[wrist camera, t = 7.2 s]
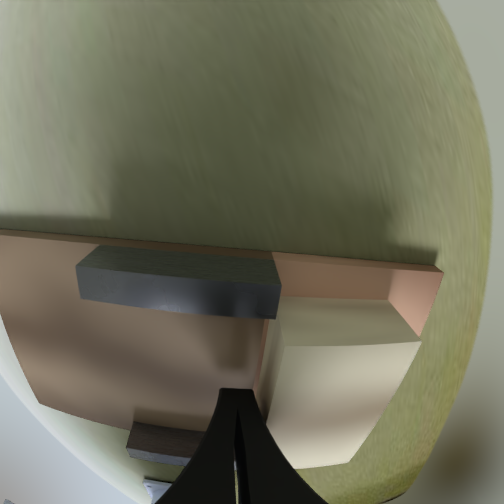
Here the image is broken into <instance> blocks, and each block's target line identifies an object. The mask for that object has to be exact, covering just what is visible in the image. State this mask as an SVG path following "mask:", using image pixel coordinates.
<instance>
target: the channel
mask: <svg viewBox="0 0 504 504" xmlns="http://www.w3.org/2000/svg"><path fill="white" fill-rule="evenodd" d="M75 268H76V275H77V282H78V288H79V294H80V299H86V300H92V301H98V302H104V303H111V304H118V305H125V306H132V307H140V308H147V309H156V310H164V311H173V312H182V313H192V314H203V315H214V316H227V317H240V318H256V319H274V320H276V316H277V311H278V305H279V300H280V294H281V288H282V284H281V281H280V278H279V274H278V271H277V268H276V265H275V262H274V260H273V259H261V258H248V257H237V256H225V255H213V254H201V253H190V252H178V251H167V250H155V249H144V248H133V247H122V246H111V245H99V246H97V247H96V248H95V249H94V250H93V251H92V252H90V253H89V254H88V255H87V256H86V257H85V258H83V259H82V260H81V261H80V262H79V263H78V264H77V265H76V266H75ZM205 432H206V431H196V430H187V429H178V428H171V427H164V426H158V425H152V424H146V423H140V422H135V421H133V424H132V428H131V431H130V435H129V438H128V442H127V446H126V449H127V451H128V453H129V455H130V457H133V458H138V459H142V460H148V461H153V462H159V463H165V464H172V465H179V466H186V465H187V464H188V462H189V461H190V459H191V458H192V456H193V454H194V453H195V451H196V449H197V447H198V446H199V444H200V442H201V440H202V438H203V436H204V434H205ZM234 470H236V461H235V452H234Z"/></svg>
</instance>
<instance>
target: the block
mask: <svg viewBox="0 0 504 504" xmlns="http://www.w3.org/2000/svg"><path fill="white" fill-rule="evenodd" d="M421 342H422V341H421V339H420V338H419V337H418V335H417V334H416V333H415V332H414V331H413V329H412V328H411V327H410V326H409V324H408V323H407V322H406V321H405V319H404V318H403V317H402V316H401V315H400V313H399V312H398V311H397V310H396V309H395V307H394V306H393V305H392V304H391V303H390V302H389V300H374V299H339V298H314V297H294V296H280V300H279V305H278V311H277V316H276V320H274V319H269V325H268V331H267V337H266V343H265V349H264V355H263V360H262V366H261V372H260V377H259V383H258V388H257V393H256V401H257V404H258V407H259V409H260V412H261V414H262V416H263V419H264V421H265V423H266V425H267V427H268V429H269V431H270V433H271V435H272V437H273V438H274V440H275V442H276V443H277V445H278V447H279V448H280V450H281V451H282V453H283V455H284V456H285V457H286V459H287V460H288V462H289V463H290V464H291V466H292V467H293V468H294V469H301V468H312V467H321V466H328V465H336V464H342V463H348V462H349V461H350V459H351V458H352V457H353V455H354V454H355V453H356V451H357V450H358V449H359V447H360V446H361V445H362V443H363V442H364V440H365V439H366V438H367V436H368V435H369V433H370V432H371V430H372V429H373V427H374V426H375V424H376V423H377V421H378V420H379V418H380V417H381V415H382V414H383V412H384V410H385V409H386V407H387V406H388V404H389V402H390V401H391V399H392V397H393V396H394V394H395V392H396V390H397V389H398V387H399V385H400V383H401V382H402V380H403V378H404V376H405V374H406V372H407V370H408V369H409V367H410V365H411V363H412V361H413V359H414V357H415V355H416V353H417V351H418V349H419V347H420V344H421Z"/></svg>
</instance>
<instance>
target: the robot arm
mask: <svg viewBox="0 0 504 504" xmlns="http://www.w3.org/2000/svg"><path fill="white" fill-rule="evenodd" d="M234 452H235V461H236V470H237V478H238V504H328V503H327V502H326V501H325V500H323V499H322V498H321V497H320V496H319V495H318V494H317V493H316V492H315V491H314V490H313V489H312V488H311V487H310V486H309V485H308V484H307V483H306V482H305V481H304V480H303V479H302V478H301V477H300V475H299V474H298V473H297V472H296V471H295V469H294V468H293V467H292V466H291V464H290V463H289V462H288V460H287V459H286V457H285V456H284V455H283V453H282V451H281V450H280V448H279V447H278V445H277V443H276V442H275V440H274V438H273V437H272V435H271V433H270V431H269V429H268V427H267V425H266V423H265V421H264V419H263V416H262V414H261V412H260V409H259V407H258V404H257V401H256V398H255V394H254V391H253V390H252V389H240V388H223V387H222V388H220V389H219V396H218V400H217V404H216V407H215V410H214V413H213V416H212V418H211V421H210V423H209V425H208V428H207V430H206V432H205V434H204V436H203V438H202V440H201V442H200V444H199V446H198V447H197V449H196V451H195V453H194V454H193V456H192V458H191V459H190V461H189V462H188V464H187V465H186V467H185V468H184V469H183V471H182V472H181V474H180V475H179V476H178V478H177V479H176V480H175V481H174V483H173V484H171V483H164V482H158V481H153V480H147V479H145V480H143V484H144V486H145V488H146V490H147V491H148V493H149V495H150V497H151V499H152V503H151V504H236V492H235V474H234ZM4 504H14V503H12V502H11V501H9V500H7V499H5V501H4Z"/></svg>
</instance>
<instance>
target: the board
mask: <svg viewBox="0 0 504 504" xmlns="http://www.w3.org/2000/svg"><path fill="white" fill-rule="evenodd" d="M99 245H111V246H122V247H133V248H144V249H155V250H167V251H178V252H190V253H201V254H213V255H225V256H237V257H248V258H261V259H273V260H274V262H275V265H276V268H277V271H278V274H279V278H280V281H281V284H282V288H281V294H280V296H294V297H314V298H339V299H374V300H389V302H390V303H391V304H392V305H393V306H394V307H395V309H396V310H397V311H398V312H399V313H400V315H401V316H402V317H403V318H404V319H405V321H406V322H407V323H408V324H409V326H410V327H411V328H412V329H413V331H414V332H415V333H416V334H417V335H418V337H419V336H420V334H421V332H422V329H423V327H424V325H425V322H426V320H427V318H428V315H429V313H430V310H431V308H432V305H433V303H434V300H435V297H436V295H437V292H438V289H439V286H440V283H441V281H442V278H443V275H444V272H442V271H441V270H440V269H438V268H437V267H436V266H431V265H420V264H408V263H397V262H386V261H374V260H363V259H352V258H340V257H329V256H317V255H306V254H294V253H282V252H271V251H259V250H247V249H236V248H224V247H212V246H200V245H188V244H177V243H165V242H153V241H141V240H129V239H117V238H105V237H93V236H80V235H68V234H56V233H44V232H31V231H19V230H6V229H0V314H1V317H2V320H3V323H4V326H5V329H6V331H7V334H8V337H9V339H10V342H11V345H12V347H13V349H14V352H15V354H16V357H17V359H18V361H19V364H20V366H21V368H22V370H23V372H24V374H25V377H26V379H27V381H28V383H29V385H30V387H31V389H32V391H33V393H34V394H35V396H36V398H37V400H38V402H39V403H40V404H43V405H45V406H48V407H51V408H53V409H56V410H59V411H62V412H65V413H68V414H71V415H74V416H77V417H80V418H84V419H87V420H91V421H94V422H98V423H102V424H106V425H110V426H114V427H118V428H122V429H127V430H131V428H132V424H133V421H135V422H140V423H146V424H152V425H158V426H164V427H171V428H178V429H187V430H196V431H206V430H207V428H208V425H209V423H210V421H211V418H212V416H213V413H214V410H215V407H216V404H217V400H218V396H219V389H220V388H222V387H223V388H240V389H252V390H253V391H254V394H255V398H256V393H257V388H258V383H259V377H260V372H261V366H262V360H263V355H264V349H265V343H266V337H267V331H268V325H269V319H256V318H240V317H227V316H214V315H203V314H192V313H182V312H173V311H164V310H156V309H147V308H140V307H132V306H125V305H118V304H111V303H104V302H98V301H92V300H86V299H80V294H79V288H78V282H77V275H76V268H75V266H76V265H77V264H78V263H79V262H80V261H81V260H82V259H83V258H85V257H86V256H87V255H88V254H89V253H90V252H92V251H93V250H94V249H95V248H96V247H97V246H99Z"/></svg>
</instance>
